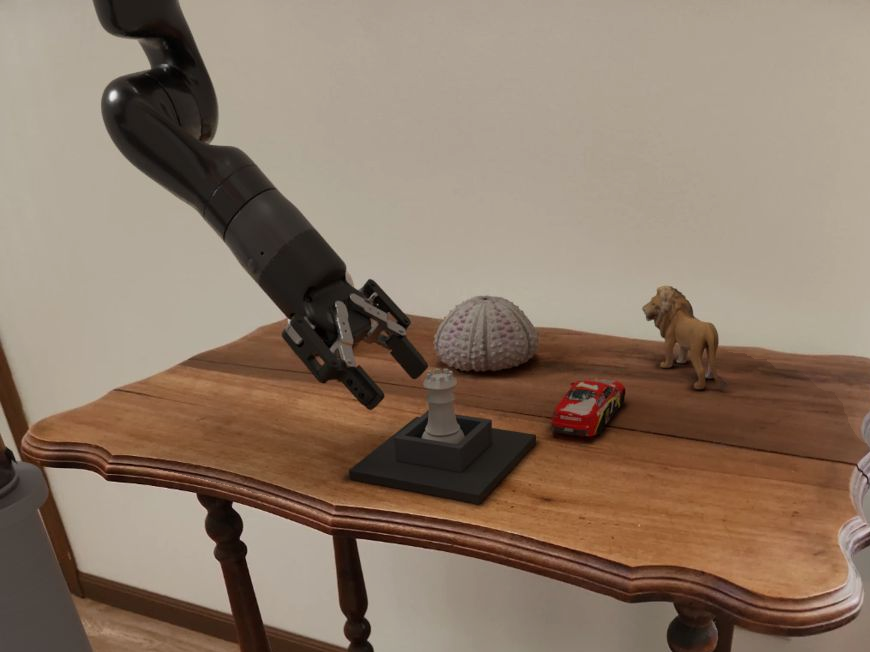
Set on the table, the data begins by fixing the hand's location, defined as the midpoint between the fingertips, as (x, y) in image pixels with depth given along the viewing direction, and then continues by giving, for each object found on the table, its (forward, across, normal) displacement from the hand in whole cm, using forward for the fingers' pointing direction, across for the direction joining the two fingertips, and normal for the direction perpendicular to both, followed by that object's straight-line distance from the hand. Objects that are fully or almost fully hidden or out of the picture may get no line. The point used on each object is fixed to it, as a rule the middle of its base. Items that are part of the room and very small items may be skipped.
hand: (401, 388), depth 78 cm
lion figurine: (+19, +32, -9) cm, 39 cm away
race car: (+15, +15, -5) cm, 22 cm away
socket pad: (+8, 0, +2) cm, 8 cm away
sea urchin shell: (+2, +28, +8) cm, 29 cm away
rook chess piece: (+7, 0, +2) cm, 8 cm away
